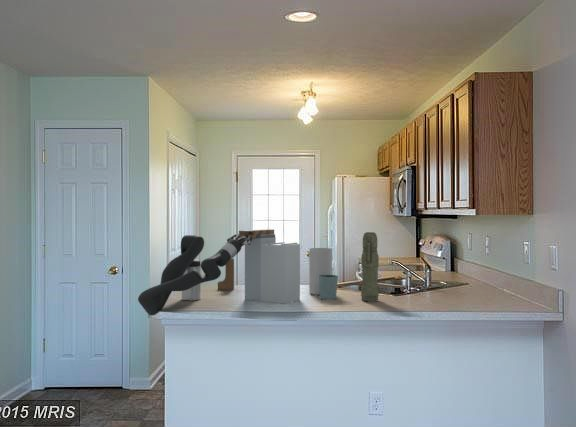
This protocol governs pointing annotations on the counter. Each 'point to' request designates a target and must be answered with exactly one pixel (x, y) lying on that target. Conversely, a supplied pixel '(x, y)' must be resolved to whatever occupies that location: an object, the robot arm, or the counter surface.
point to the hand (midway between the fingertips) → (248, 232)
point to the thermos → (369, 267)
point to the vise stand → (272, 270)
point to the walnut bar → (256, 232)
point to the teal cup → (328, 286)
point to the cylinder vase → (318, 267)
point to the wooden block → (228, 277)
